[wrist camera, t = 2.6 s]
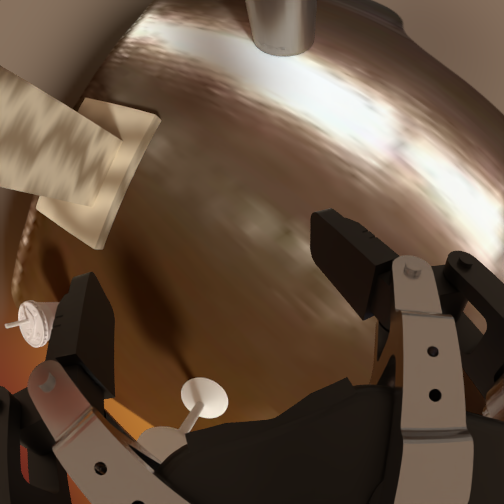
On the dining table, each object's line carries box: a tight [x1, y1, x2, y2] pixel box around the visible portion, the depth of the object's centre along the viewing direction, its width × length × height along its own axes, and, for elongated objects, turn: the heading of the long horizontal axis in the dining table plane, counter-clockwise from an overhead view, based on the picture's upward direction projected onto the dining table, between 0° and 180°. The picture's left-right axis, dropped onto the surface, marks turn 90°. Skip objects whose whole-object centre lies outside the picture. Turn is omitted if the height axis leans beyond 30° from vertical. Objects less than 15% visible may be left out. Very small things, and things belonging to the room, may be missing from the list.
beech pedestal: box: [0, 66, 161, 249], centre depth 21 cm, size 20×16×32 cm
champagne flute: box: [137, 378, 228, 462], centre depth 23 cm, size 7×7×24 cm
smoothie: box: [5, 300, 60, 347], centre depth 31 cm, size 6×6×14 cm
